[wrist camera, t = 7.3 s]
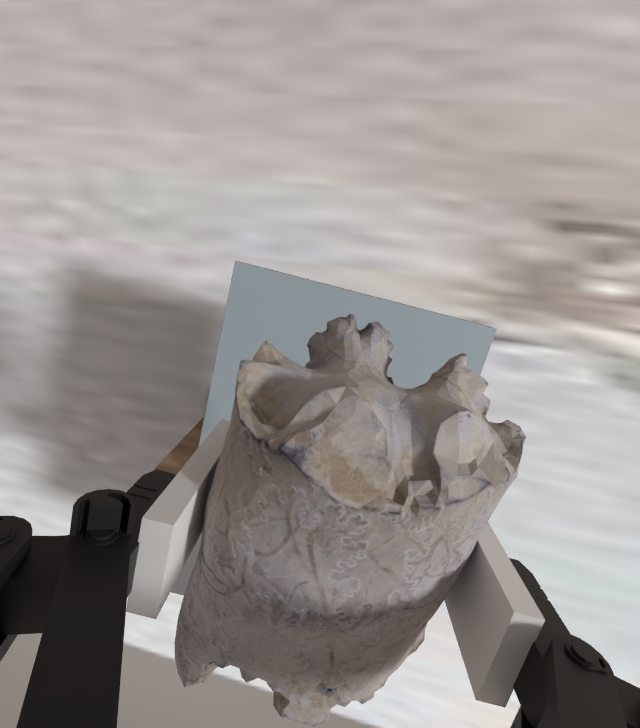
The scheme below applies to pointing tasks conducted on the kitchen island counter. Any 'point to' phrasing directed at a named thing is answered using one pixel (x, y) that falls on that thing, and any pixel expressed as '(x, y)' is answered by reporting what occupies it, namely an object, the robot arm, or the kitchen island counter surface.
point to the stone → (338, 519)
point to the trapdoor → (310, 315)
